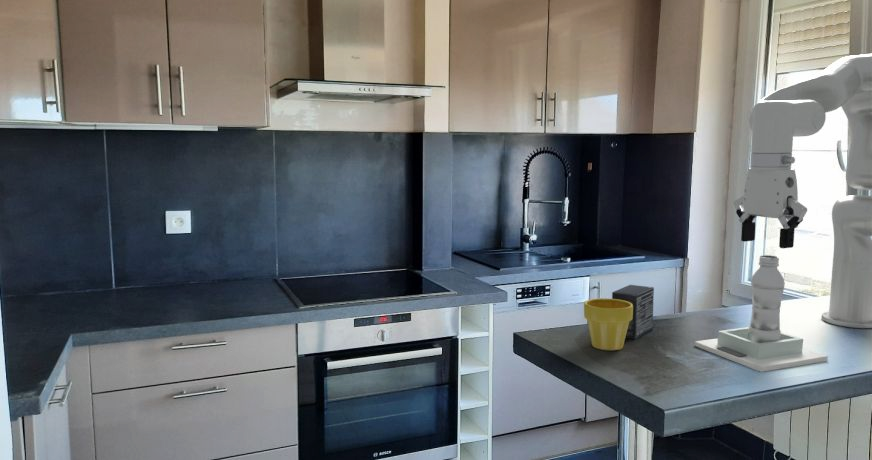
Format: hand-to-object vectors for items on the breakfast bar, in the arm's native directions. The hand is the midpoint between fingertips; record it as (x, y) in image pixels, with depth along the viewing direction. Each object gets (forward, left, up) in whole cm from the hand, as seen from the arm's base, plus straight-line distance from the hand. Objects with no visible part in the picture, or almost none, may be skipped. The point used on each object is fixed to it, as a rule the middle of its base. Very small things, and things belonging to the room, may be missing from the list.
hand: (766, 244), depth 137 cm
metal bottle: (0, +1, -23) cm, 23 cm away
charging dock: (0, 0, -23) cm, 23 cm away
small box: (+15, -23, -24) cm, 36 cm away
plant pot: (+27, -16, -24) cm, 40 cm away
